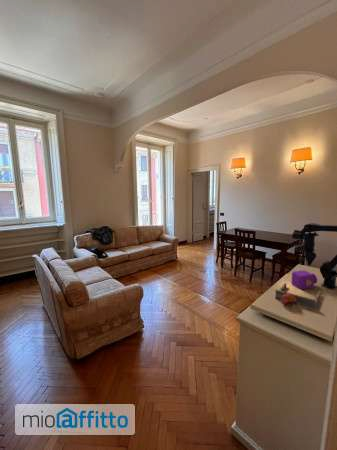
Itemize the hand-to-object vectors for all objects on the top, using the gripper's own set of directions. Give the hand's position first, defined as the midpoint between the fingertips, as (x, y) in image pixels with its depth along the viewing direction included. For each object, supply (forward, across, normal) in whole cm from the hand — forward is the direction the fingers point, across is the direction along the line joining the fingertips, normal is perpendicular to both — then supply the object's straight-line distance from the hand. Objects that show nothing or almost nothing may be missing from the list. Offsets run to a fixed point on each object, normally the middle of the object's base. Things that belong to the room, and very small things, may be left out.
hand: (308, 263), depth 141 cm
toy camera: (+12, +12, -3) cm, 17 cm away
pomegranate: (+12, +43, -13) cm, 46 cm away
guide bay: (+12, +30, -7) cm, 33 cm away
